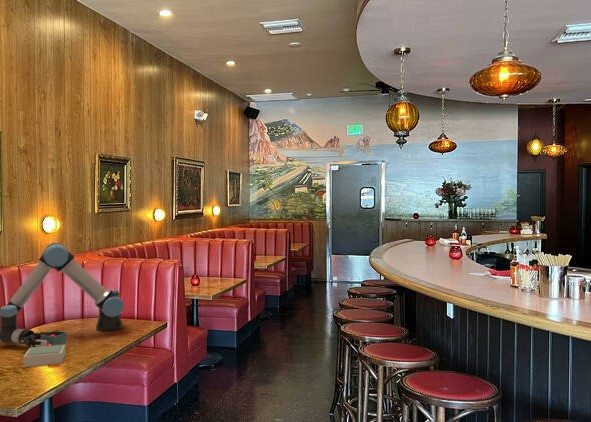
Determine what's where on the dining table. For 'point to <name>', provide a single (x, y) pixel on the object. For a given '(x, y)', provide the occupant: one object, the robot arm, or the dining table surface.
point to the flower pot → (55, 338)
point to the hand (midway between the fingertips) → (57, 339)
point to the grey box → (44, 355)
